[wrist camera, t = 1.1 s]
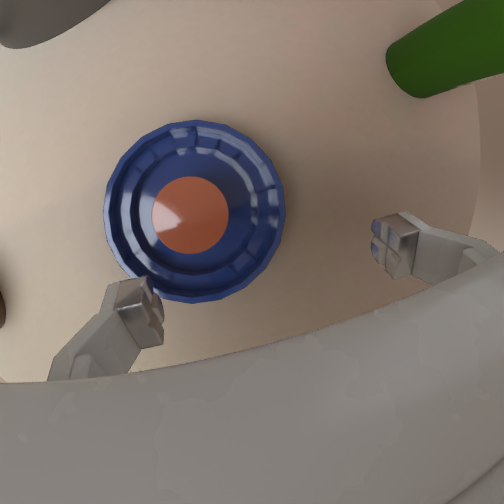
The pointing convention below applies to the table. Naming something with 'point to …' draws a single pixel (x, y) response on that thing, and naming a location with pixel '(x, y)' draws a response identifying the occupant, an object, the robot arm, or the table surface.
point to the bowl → (225, 179)
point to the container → (41, 19)
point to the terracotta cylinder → (190, 215)
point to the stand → (2, 311)
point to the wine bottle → (450, 49)
